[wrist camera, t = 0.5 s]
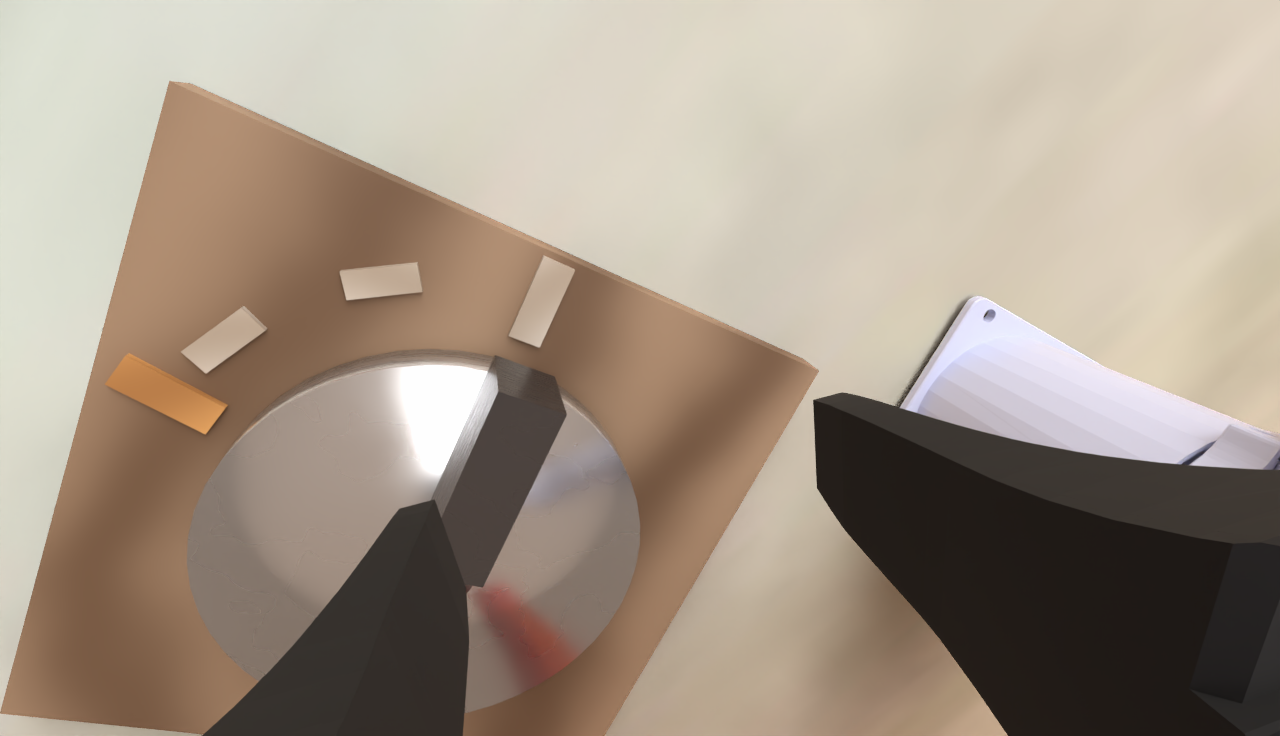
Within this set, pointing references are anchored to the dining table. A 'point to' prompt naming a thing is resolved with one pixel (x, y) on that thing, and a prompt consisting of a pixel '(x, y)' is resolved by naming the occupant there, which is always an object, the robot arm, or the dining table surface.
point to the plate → (330, 336)
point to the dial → (411, 474)
